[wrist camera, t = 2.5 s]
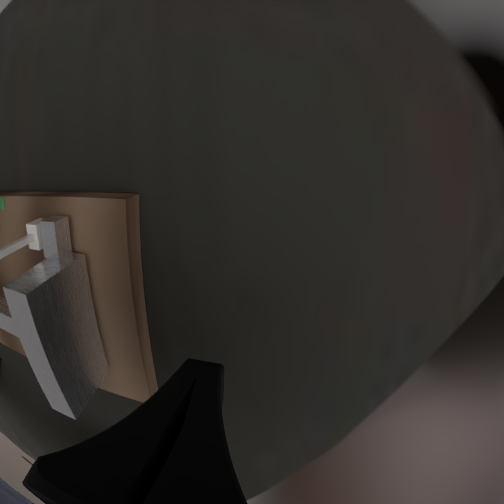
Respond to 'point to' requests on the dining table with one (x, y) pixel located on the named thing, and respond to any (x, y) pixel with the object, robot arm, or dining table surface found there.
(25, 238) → the rod
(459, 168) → the dining table surface
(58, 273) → the grey angular piece
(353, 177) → the dining table surface
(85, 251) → the frame
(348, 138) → the dining table surface
